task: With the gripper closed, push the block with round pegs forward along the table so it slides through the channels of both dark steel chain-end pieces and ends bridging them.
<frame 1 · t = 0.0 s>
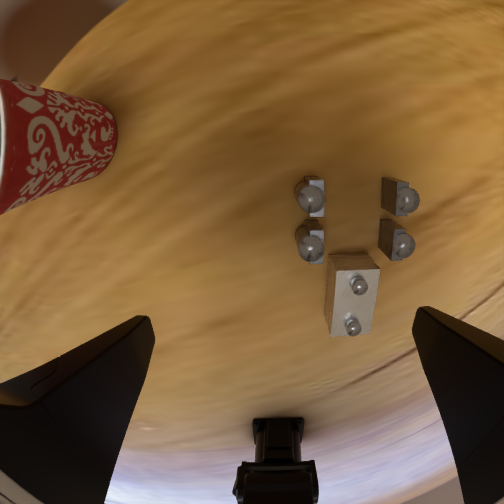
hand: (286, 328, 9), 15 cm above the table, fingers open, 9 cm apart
mug: (74, 150, 21), on the table
block with round pegs: (345, 284, 24), on the table
chain end B: (350, 191, 21), on the table
chain end A: (349, 234, 22), on the table
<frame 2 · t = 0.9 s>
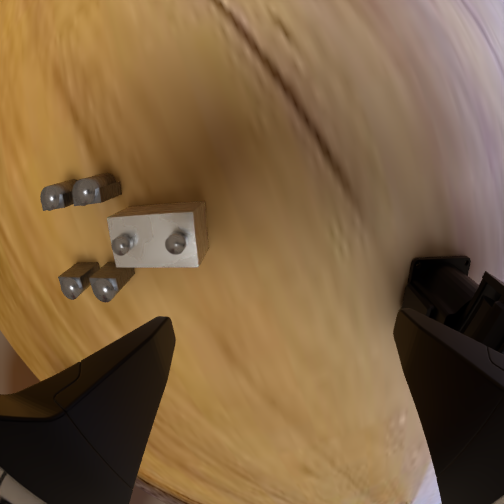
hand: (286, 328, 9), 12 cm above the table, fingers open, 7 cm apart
block with round pegs: (168, 226, 20), on the table
chain end B: (80, 232, 21), on the table
chain end A: (113, 230, 20), on the table
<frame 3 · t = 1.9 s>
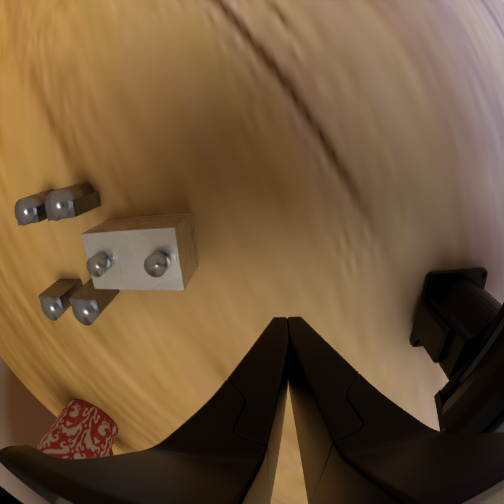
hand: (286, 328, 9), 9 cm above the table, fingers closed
mug: (102, 424, 27), on the table
block with round pegs: (151, 241, 18), on the table
chain end B: (60, 247, 18), on the table
chain end A: (93, 245, 18), on the table
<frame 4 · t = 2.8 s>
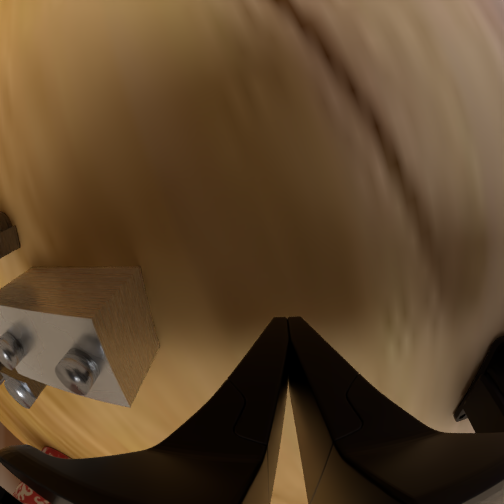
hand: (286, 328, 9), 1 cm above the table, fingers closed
mug: (81, 471, 20), on the table
block with round pegs: (89, 304, 10), on the table
chain end A: (23, 299, 10), on the table
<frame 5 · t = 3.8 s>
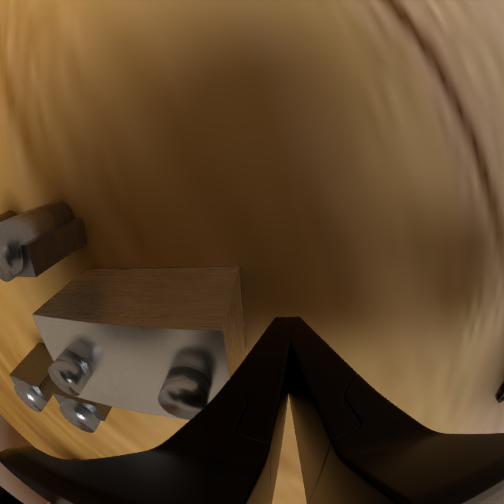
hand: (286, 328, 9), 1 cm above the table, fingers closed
block with round pegs: (162, 311, 10), on the table, touching gripper
chain end B: (33, 301, 11), on the table
chain end A: (81, 306, 10), on the table
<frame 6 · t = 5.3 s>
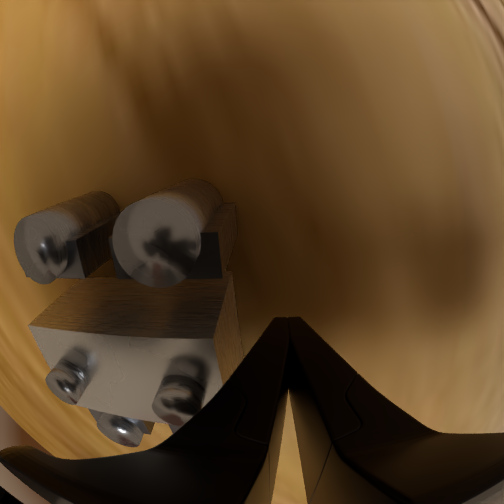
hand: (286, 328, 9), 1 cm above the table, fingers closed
block with round pegs: (158, 318, 10), on the table, touching gripper
chain end B: (120, 309, 10), on the table
chain end A: (207, 312, 10), on the table
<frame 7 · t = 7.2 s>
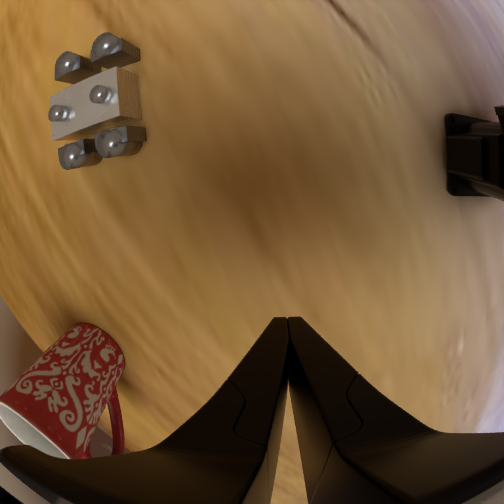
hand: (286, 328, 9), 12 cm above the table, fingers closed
mug: (106, 360, 26), on the table
block with round pegs: (106, 108, 17), on the table
chain end B: (89, 110, 17), on the table
chain end A: (127, 97, 17), on the table
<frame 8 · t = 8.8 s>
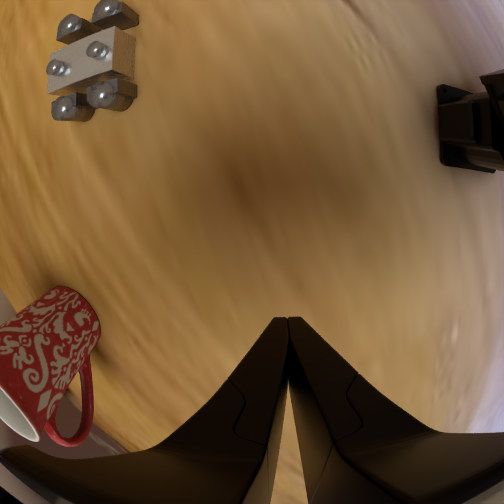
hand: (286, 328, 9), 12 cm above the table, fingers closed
mug: (82, 329, 25), on the table
block with round pegs: (102, 68, 16), on the table
chain end B: (86, 70, 16), on the table
chain end A: (122, 57, 16), on the table
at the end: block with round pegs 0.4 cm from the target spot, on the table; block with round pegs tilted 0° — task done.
